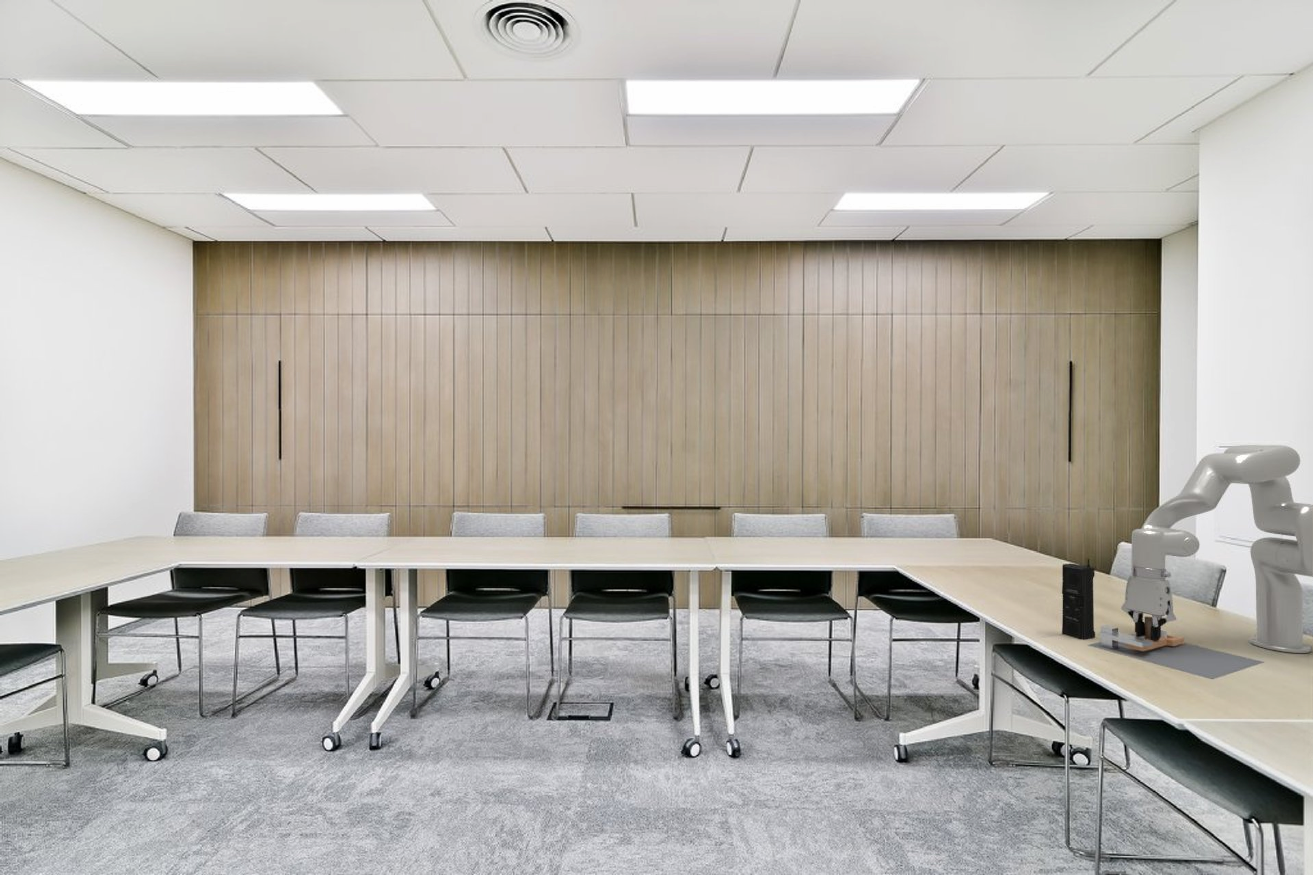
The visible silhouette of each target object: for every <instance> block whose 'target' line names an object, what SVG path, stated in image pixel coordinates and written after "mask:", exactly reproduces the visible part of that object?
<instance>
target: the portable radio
mask: <svg viewBox="0 0 1313 875" xmlns="http://www.w3.org/2000/svg"><path fill="white" fill-rule="evenodd" d="M1095 573H1096V572H1095V567H1094V566H1091V565H1090V558H1087V565H1082V564H1077V563H1063V564H1062V573H1061V574H1062V584H1061V585H1062V586H1061V594H1062V618H1061V619H1062V621H1061V622H1062V623H1061V624H1062V628H1061V635H1064V636H1067V637H1068V636H1069V637H1072V638H1074V639H1077V640H1081V641H1082V640H1083V641H1087V640H1090V639H1095V638H1096V631H1095V623H1094V622H1095V620H1094V618H1095V617H1094V614H1095V613H1094V609H1095V608H1094V578H1095Z"/></svg>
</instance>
